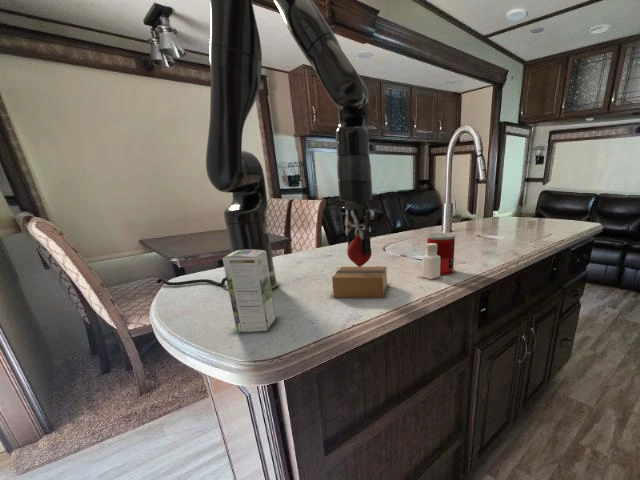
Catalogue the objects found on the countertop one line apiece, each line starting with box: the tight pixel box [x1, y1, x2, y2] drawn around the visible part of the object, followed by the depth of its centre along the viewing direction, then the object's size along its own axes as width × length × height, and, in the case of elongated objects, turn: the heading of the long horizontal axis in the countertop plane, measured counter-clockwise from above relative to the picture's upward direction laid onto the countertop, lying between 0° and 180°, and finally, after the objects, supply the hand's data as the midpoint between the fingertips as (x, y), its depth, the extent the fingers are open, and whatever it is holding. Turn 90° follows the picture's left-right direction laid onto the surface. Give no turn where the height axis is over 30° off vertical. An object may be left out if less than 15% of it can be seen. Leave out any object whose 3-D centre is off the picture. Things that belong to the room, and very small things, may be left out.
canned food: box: [426, 232, 456, 276], centre depth 94 cm, size 8×8×11 cm
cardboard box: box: [331, 266, 388, 299], centre depth 79 cm, size 12×10×5 cm
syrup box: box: [222, 250, 277, 333], centre depth 59 cm, size 6×6×14 cm
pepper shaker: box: [421, 243, 441, 280], centre depth 89 cm, size 4×4×10 cm
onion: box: [346, 233, 372, 267], centre depth 77 cm, size 6×6×8 cm
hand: (359, 252), depth 77 cm, fingers closed on onion, 6 cm apart
